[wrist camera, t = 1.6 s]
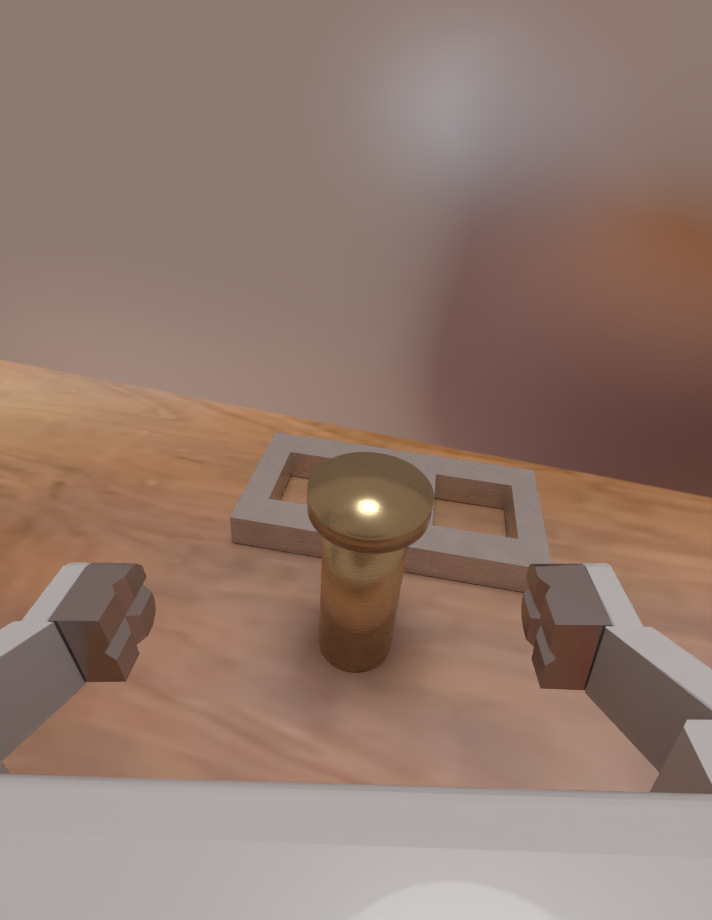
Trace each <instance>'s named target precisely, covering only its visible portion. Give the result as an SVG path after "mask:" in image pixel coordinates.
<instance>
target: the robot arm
mask: <svg viewBox="0 0 712 920" xmlns="http://www.w3.org/2000/svg"><path fill="white" fill-rule="evenodd" d="M146 577H147V576H146V574H145V572H144V569H143V567H142V565H139V564H133V563H94V562H93V563H76V562H70V563H68V564H66V565H64V566H63V567H62V568H61V569H60V571H59V572H58V573H57V575H56V576H55V577H54V579H53V580H52V581H51V583H50V584H49V585H48V586H47V588H46V589H45V590H44V592H43V593H42V594H41V596H40V597H39V598H38V600H37V601H36V602H35V603H34V605H33V606H32V607H31V609H30V610H29V611H28V613H27V614H26V615H25V617H24V618H23V619H22V620H21V621H14V622H12V623H10V624H9V625H7V626H5V627H4V628H2V629H0V920H712V669H711V668H709V667H708V666H706V665H705V664H704V663H702V662H701V661H699V660H698V659H696V658H695V657H694V656H692V655H691V654H689V653H688V652H687V651H685V650H684V649H682V648H681V647H679V646H678V645H677V644H675V643H674V642H672V641H671V640H670V639H668V638H667V637H665V636H664V635H663V634H661V633H660V632H658V631H657V630H655V629H654V628H653V627H644V626H643V624H642V622H641V620H640V619H639V617H638V615H637V613H636V611H635V609H634V608H633V606H632V604H631V602H630V600H629V598H628V597H627V595H626V593H625V591H624V589H623V587H622V586H621V584H620V582H619V580H618V578H617V576H616V575H615V573H614V571H613V569H612V567H611V566H610V565H609V564H607V563H581V564H530V566H529V567H528V570H527V575H526V580H527V583H528V586H529V589H528V590H527V591H526V592H524V593H523V598H522V605H521V610H522V624H523V629H524V633H525V637H526V640H527V641H528V642H529V643H530V644H532V645H533V646H534V649H533V654H532V662H533V665H534V668H535V672H536V675H537V679H538V682H539V685H540V688H544V689H567V690H586V691H585V693H586V694H587V695H588V696H589V697H590V698H591V699H592V701H593V702H594V703H595V704H596V705H597V706H598V707H599V708H600V709H601V710H602V711H603V712H604V713H605V715H606V716H607V717H608V718H609V719H610V720H611V721H612V722H613V723H614V724H615V725H616V726H617V727H618V728H619V730H620V731H621V732H622V733H623V734H624V735H625V736H626V737H627V738H628V739H629V740H630V741H631V742H632V744H633V745H634V746H635V747H636V748H637V749H638V750H639V751H640V752H641V753H642V754H643V755H644V756H645V757H646V759H647V760H648V761H649V762H650V763H651V764H652V765H653V766H654V767H655V768H656V769H657V770H658V771H659V775H658V777H657V779H656V781H655V783H654V785H653V787H652V789H651V791H650V792H623V791H588V790H552V789H517V788H481V787H445V786H410V785H374V784H338V783H302V782H266V781H230V780H194V779H159V778H124V777H88V776H53V775H18V774H11V773H10V772H9V771H8V769H7V768H6V767H5V765H4V764H3V763H2V762H1V761H3V760H4V759H5V758H6V757H7V756H8V755H9V754H10V753H11V752H12V751H13V750H15V749H16V748H17V747H18V746H19V745H20V744H21V743H22V742H23V741H24V740H25V739H27V738H28V737H29V736H30V735H31V734H32V733H33V732H34V731H35V730H36V729H37V728H39V727H40V726H41V725H42V724H43V723H44V722H45V721H46V720H47V719H48V718H50V717H51V716H52V715H53V714H54V713H55V712H56V711H57V710H58V709H59V708H60V707H62V706H63V705H64V704H65V703H66V702H67V701H68V700H69V699H70V698H71V697H72V696H74V695H75V694H76V693H77V692H78V691H79V690H80V689H81V688H82V687H83V686H84V685H85V684H86V683H85V682H126V680H127V678H128V676H129V674H130V672H131V670H132V668H133V666H134V664H135V662H136V660H137V658H138V656H139V651H138V648H137V644H138V643H139V642H141V641H142V640H143V639H145V638H146V637H147V636H148V635H149V632H150V630H151V628H152V626H153V623H154V617H155V611H156V609H155V599H154V596H153V593H152V592H151V591H150V590H149V589H148V588H146V587H145V586H144V585H143V583H144V581H145V579H146Z"/></svg>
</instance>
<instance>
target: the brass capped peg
mask: <svg viewBox="0 0 712 920" xmlns="http://www.w3.org/2000/svg"><path fill="white" fill-rule="evenodd" d="M433 503H434V491H433V488H432V485H431V483H430V481H429V480H428V478H427V477H426V476H425V475H424V474H423V473H422V472H421V471H420V470H419V469H418V468H416V467H415V466H413V465H412V464H410V463H408V462H407V461H404V460H402V459H400V458H397V457H394V456H391V455H387V454H382V453H375V452H354V453H347V454H343V455H339V456H336V457H334V458H331V459H329V460H327V461H325V462H324V463H322V464H321V465H320V466H319V467H317V468H316V469H315V471H314V472H313V473H312V475H311V477H310V479H309V482H308V488H307V512H308V517H309V520H310V522H311V524H312V525H313V527H314V528H315V529H316V531H317V532H318V533H319V534H320V535H321V536H322V537H323V543H322V570H321V597H320V624H319V645H320V649H321V651H322V653H323V655H324V657H325V658H326V659H327V660H328V661H329V662H330V663H331V664H332V665H334V666H335V667H337V668H339V669H341V670H344V671H348V672H364V671H368V670H371V669H373V668H375V667H377V666H378V665H379V664H381V663H382V662H383V661H384V659H385V658H386V656H387V655H388V652H389V650H390V645H391V639H392V634H393V628H394V623H395V617H396V612H397V606H398V600H399V595H400V589H401V584H402V578H403V573H404V567H405V561H406V556H407V550H408V546H410V545H411V544H413V543H415V542H416V541H417V540H419V539H420V538H421V537H422V536H423V534H424V533H425V532H426V530H427V528H428V526H429V523H430V518H431V513H432V508H433Z"/></svg>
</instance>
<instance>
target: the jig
mask: <svg viewBox="0 0 712 920" xmlns="http://www.w3.org/2000/svg"><path fill="white" fill-rule="evenodd" d="M354 452H375V453H382V454H387V455H391V456H394V457H397V458H400V459H402V460H404V461H407V462H408V463H410V464H412V465H413V466H415V467H416V468H418V469H419V470H420V471H421V472H422V473H423V474H424V475H425V476H426V477H427V478H428V480H429V481H430V483H431V485H432V488H433V491H434V498H436V499H443V500H449V501H456V502H462V503H468V504H475V505H481V506H488V507H494V508H500V509H504V513H505V522H506V532H507V537H503V536H497V535H490V534H484V533H478V532H472V531H466V530H459V529H453V528H447V527H441V526H435V525H433V510H434V503H433V508H432V513H431V518H430V523H429V526H428V528H427V530H426V532H425V533H424V534H423V536H422V537H421V538H420V539H419V540H417V541H416V542H415V543H413V544H411V545H410V546H408V550H407V556H406V561H405V567H404V572H408V573H414V574H420V575H426V576H431V577H437V578H443V579H449V580H455V581H461V582H467V583H472V584H478V585H484V586H490V587H496V588H502V589H507V590H513V591H519V592H526V591H527V590H528V589H529V586H528V583H527V580H526V575H527V570H528V567H529V566H530V564H551V559H550V554H549V549H548V543H547V538H546V533H545V527H544V522H543V517H542V512H541V506H540V501H539V496H538V490H537V485H536V480H535V474H534V471H533V470H527V469H520V468H513V467H506V466H500V465H493V464H486V463H480V462H473V461H466V460H459V459H453V458H446V457H439V456H433V455H426V454H419V453H412V452H406V451H399V450H392V449H386V448H379V447H372V446H365V445H359V444H352V443H345V442H339V441H332V440H325V439H318V438H312V437H305V436H298V435H291V434H285V433H278V432H275V434H274V436H273V438H272V440H271V442H270V444H269V445H268V447H267V449H266V451H265V453H264V455H263V457H262V458H261V460H260V462H259V464H258V466H257V468H256V470H255V472H254V473H253V475H252V477H251V479H250V481H249V483H248V485H247V486H246V488H245V490H244V492H243V494H242V496H241V498H240V499H239V501H238V503H237V505H236V507H235V509H234V511H233V512H232V514H231V516H230V522H231V531H232V540H233V543H239V544H244V545H250V546H256V547H262V548H268V549H274V550H279V551H285V552H291V553H297V554H303V555H309V556H315V557H320V558H322V543H323V537H322V536H321V535H320V534H319V533H318V532H317V531H316V529H315V528H314V527H313V525H312V524H311V522H310V520H309V517H308V512H307V505H305V504H299V503H292V502H286V501H280V499H281V497H282V495H283V492H284V490H285V488H286V485H287V483H288V481H289V479H290V476H296V477H302V478H309V479H310V477H311V475H312V473H313V472H314V471H315V469H316V468H317V467H319V466H320V465H321V464H322V463H324V462H325V461H327V460H329V459H331V458H334V457H336V456H339V455H343V454H347V453H354Z"/></svg>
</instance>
